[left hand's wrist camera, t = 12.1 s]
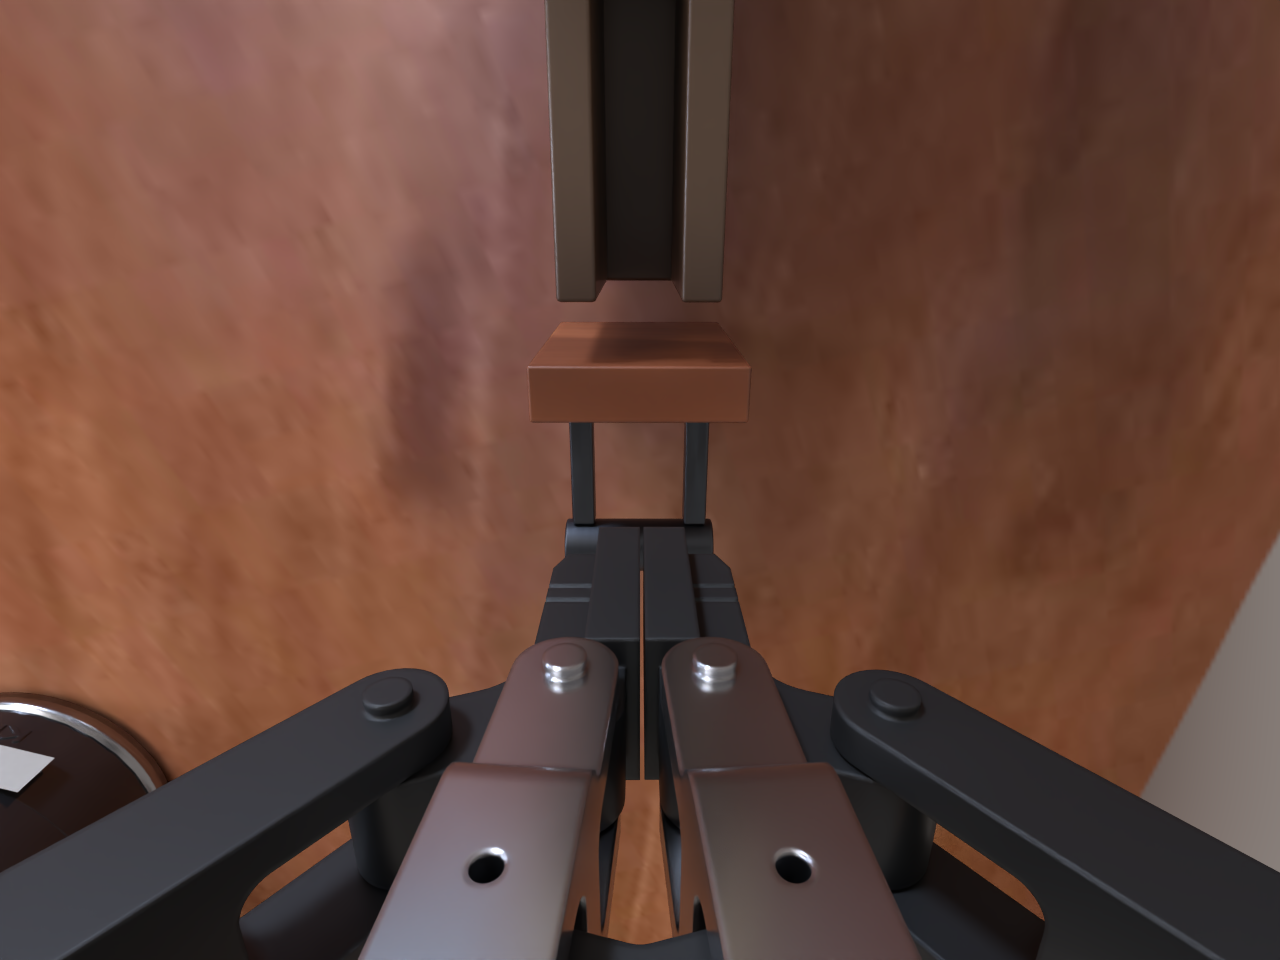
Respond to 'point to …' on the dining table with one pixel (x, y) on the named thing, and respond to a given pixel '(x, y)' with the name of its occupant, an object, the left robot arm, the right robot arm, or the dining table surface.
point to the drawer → (639, 236)
